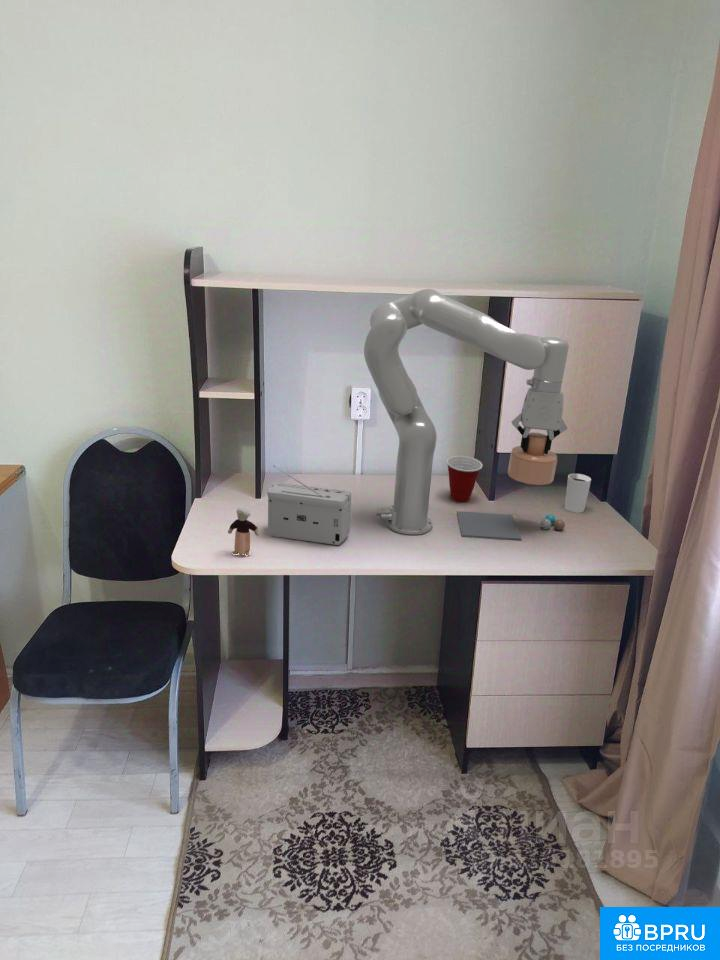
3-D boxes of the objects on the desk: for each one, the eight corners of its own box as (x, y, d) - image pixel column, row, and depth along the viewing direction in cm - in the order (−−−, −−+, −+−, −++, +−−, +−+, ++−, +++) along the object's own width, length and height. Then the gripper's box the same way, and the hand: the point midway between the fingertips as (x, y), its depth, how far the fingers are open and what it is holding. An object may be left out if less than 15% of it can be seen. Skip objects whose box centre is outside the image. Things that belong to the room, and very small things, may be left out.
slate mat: (461, 536, 196) (461, 534, 196) (456, 512, 211) (457, 511, 211) (521, 540, 196) (521, 538, 196) (512, 516, 211) (512, 514, 211)
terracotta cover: (511, 482, 193) (518, 440, 189) (505, 467, 205) (511, 426, 200) (556, 486, 193) (564, 444, 189) (547, 471, 204) (555, 430, 200)
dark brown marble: (554, 531, 203) (555, 521, 202) (552, 527, 205) (553, 517, 204) (565, 532, 203) (566, 522, 201) (562, 527, 205) (564, 518, 204)
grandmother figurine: (227, 557, 178) (226, 510, 174) (228, 550, 182) (227, 503, 177) (258, 557, 179) (258, 510, 175) (259, 550, 183) (259, 504, 178)
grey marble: (540, 530, 203) (542, 520, 202) (538, 526, 205) (540, 516, 204) (551, 531, 203) (552, 521, 202) (549, 526, 205) (550, 517, 204)
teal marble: (545, 526, 206) (546, 516, 205) (543, 521, 208) (544, 512, 207) (555, 526, 206) (557, 517, 205) (553, 522, 208) (555, 512, 207)
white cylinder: (573, 514, 215) (578, 482, 211) (558, 505, 220) (563, 475, 217) (590, 511, 217) (596, 480, 214) (575, 503, 223) (580, 472, 219)
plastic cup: (450, 506, 215) (454, 468, 211) (437, 493, 225) (441, 456, 220) (484, 504, 218) (489, 467, 214) (469, 491, 228) (474, 455, 223)
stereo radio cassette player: (349, 535, 194) (353, 465, 186) (342, 549, 186) (346, 476, 179) (274, 525, 197) (275, 455, 190) (264, 537, 190) (264, 465, 182)
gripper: (516, 386, 186) (505, 453, 193) (582, 392, 186) (569, 459, 193) (511, 379, 193) (501, 444, 200) (575, 385, 193) (563, 450, 200)
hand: (534, 450), depth 196 cm, fingers closed on terracotta cover, 5 cm apart
